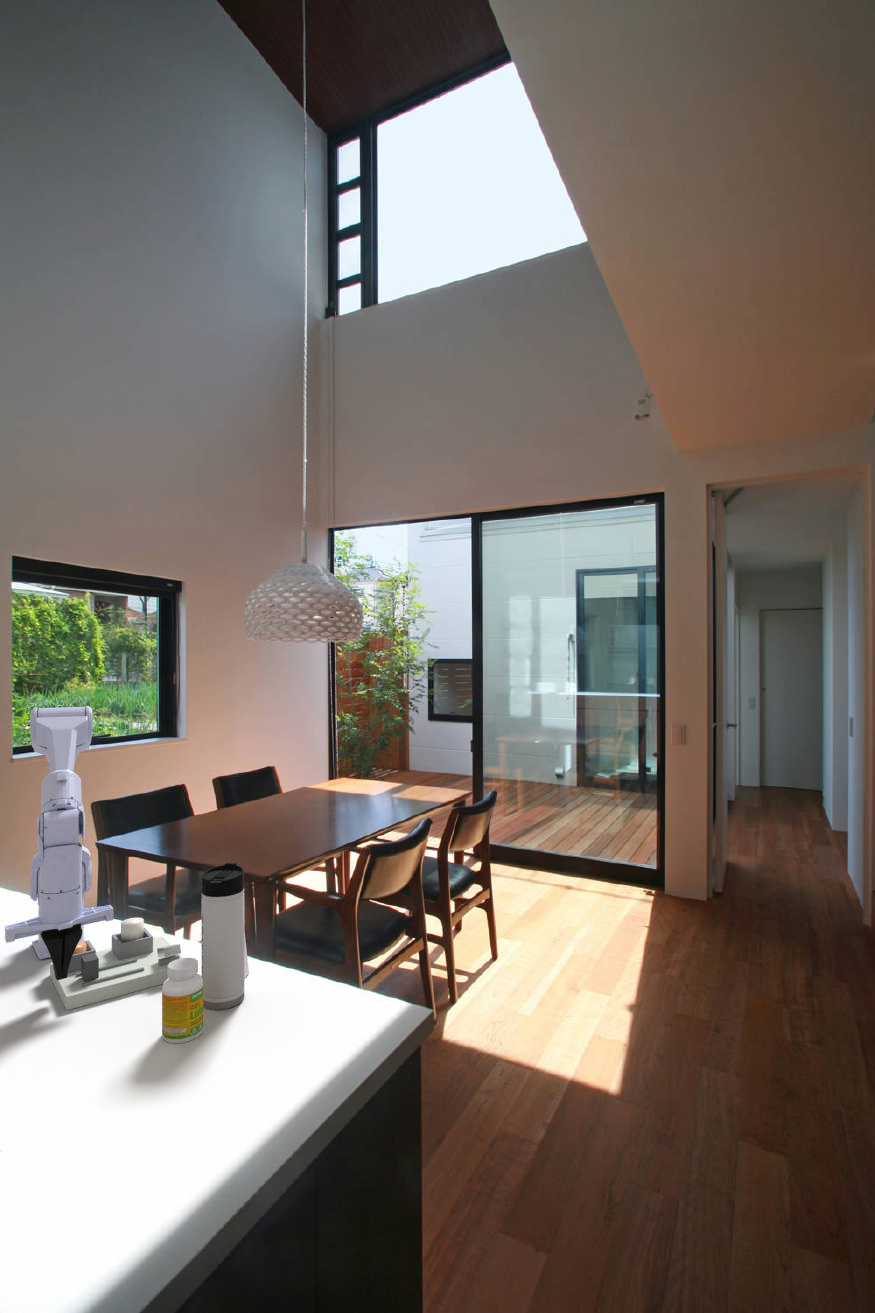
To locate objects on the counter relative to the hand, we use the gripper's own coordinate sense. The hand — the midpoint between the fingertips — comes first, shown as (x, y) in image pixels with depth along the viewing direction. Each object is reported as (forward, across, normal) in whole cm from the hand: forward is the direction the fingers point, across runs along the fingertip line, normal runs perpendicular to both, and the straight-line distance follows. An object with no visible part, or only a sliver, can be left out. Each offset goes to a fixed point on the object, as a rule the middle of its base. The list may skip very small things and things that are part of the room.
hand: (60, 977), depth 105 cm
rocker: (-1, +16, -2) cm, 16 cm away
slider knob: (+1, +4, 0) cm, 4 cm away
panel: (+3, +9, +3) cm, 10 cm away
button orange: (+1, +3, +7) cm, 8 cm away
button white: (-1, +12, +7) cm, 14 cm away
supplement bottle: (+4, +12, -22) cm, 25 cm away
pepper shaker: (+4, +24, -9) cm, 25 cm away
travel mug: (+4, +20, -16) cm, 26 cm away
